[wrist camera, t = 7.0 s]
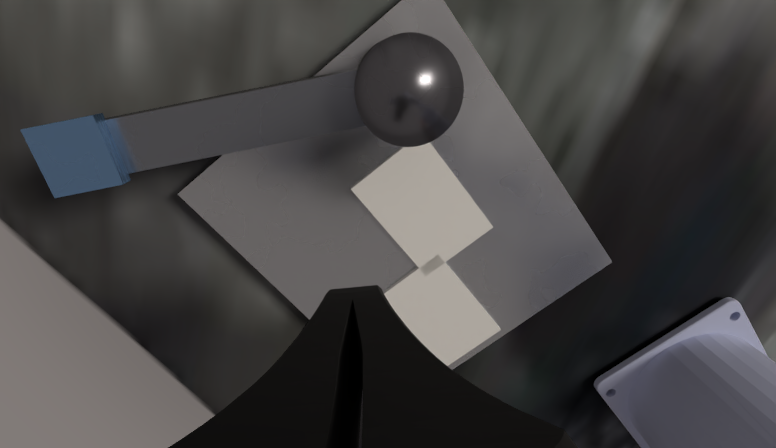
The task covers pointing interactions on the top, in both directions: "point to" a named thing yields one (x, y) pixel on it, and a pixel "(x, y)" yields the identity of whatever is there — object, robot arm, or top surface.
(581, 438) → the top surface
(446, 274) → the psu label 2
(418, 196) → the psu label
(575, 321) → the top surface
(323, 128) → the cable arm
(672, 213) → the top surface
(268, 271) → the lid
